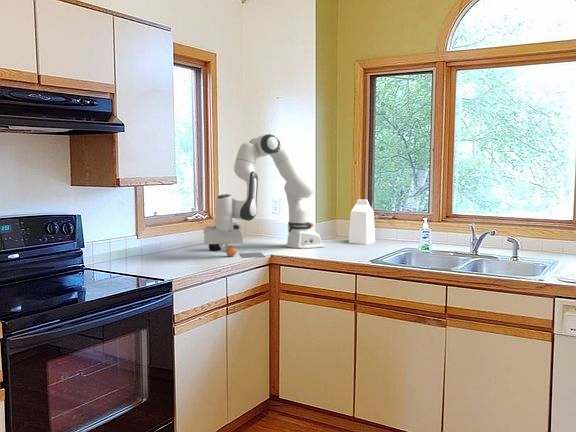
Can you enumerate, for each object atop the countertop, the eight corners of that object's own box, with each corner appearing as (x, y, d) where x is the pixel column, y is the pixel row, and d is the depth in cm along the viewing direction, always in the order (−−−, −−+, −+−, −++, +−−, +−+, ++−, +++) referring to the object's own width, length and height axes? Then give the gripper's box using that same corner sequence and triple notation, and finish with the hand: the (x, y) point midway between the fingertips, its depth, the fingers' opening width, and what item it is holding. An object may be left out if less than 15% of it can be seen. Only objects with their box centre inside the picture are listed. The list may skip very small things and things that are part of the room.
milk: (348, 242, 330) (349, 199, 327) (357, 240, 339) (358, 198, 337) (366, 244, 323) (367, 200, 320) (375, 242, 333) (375, 199, 330)
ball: (226, 256, 288) (236, 253, 290) (228, 258, 283) (238, 255, 284) (224, 246, 287) (234, 243, 289) (225, 248, 282) (236, 245, 283)
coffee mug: (204, 250, 302) (204, 233, 301) (211, 248, 310) (211, 231, 309) (223, 252, 298) (223, 234, 297) (230, 249, 307) (230, 231, 305)
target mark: (261, 252, 296) (261, 252, 296) (265, 256, 284) (265, 256, 284) (239, 253, 293) (239, 253, 293) (242, 257, 282) (242, 257, 282)
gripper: (204, 226, 278) (204, 253, 279) (244, 226, 283) (243, 252, 285) (203, 225, 284) (202, 251, 285) (241, 225, 289) (241, 250, 291)
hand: (223, 252), depth 285 cm, fingers closed
